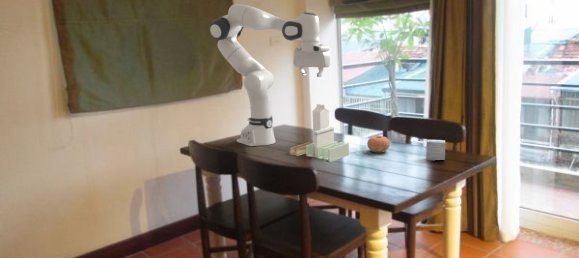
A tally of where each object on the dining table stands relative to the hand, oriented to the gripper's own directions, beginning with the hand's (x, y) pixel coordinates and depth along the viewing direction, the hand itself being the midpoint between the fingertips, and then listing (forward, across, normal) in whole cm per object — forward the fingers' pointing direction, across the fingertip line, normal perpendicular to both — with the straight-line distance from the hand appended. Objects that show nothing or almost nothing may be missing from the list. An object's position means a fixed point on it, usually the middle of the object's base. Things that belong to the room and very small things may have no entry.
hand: (311, 76), depth 227 cm
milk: (+37, -2, +9) cm, 38 cm away
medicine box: (+37, +55, +20) cm, 69 cm away
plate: (+36, +10, -4) cm, 38 cm away
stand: (+37, -1, -6) cm, 38 cm away
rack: (+37, +12, -4) cm, 39 cm away
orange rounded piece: (+37, +27, +17) cm, 49 cm away
